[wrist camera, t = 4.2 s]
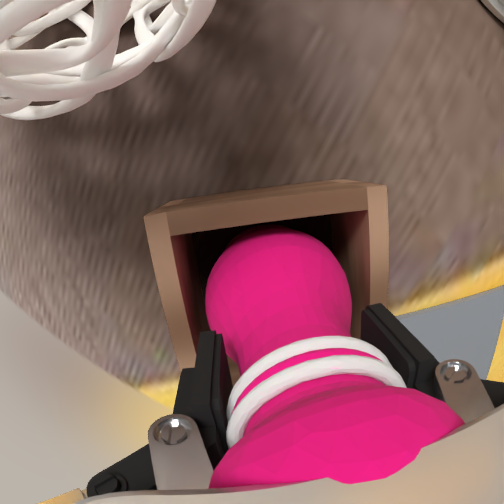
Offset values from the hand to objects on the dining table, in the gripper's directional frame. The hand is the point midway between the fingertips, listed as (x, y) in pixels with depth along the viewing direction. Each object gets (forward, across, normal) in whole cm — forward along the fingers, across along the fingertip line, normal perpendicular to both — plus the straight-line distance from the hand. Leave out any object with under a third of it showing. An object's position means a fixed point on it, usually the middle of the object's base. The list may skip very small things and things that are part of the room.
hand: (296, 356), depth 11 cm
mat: (+9, -15, +12) cm, 21 cm away
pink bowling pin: (+10, 0, 0) cm, 10 cm away
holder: (+9, 0, 0) cm, 9 cm away
